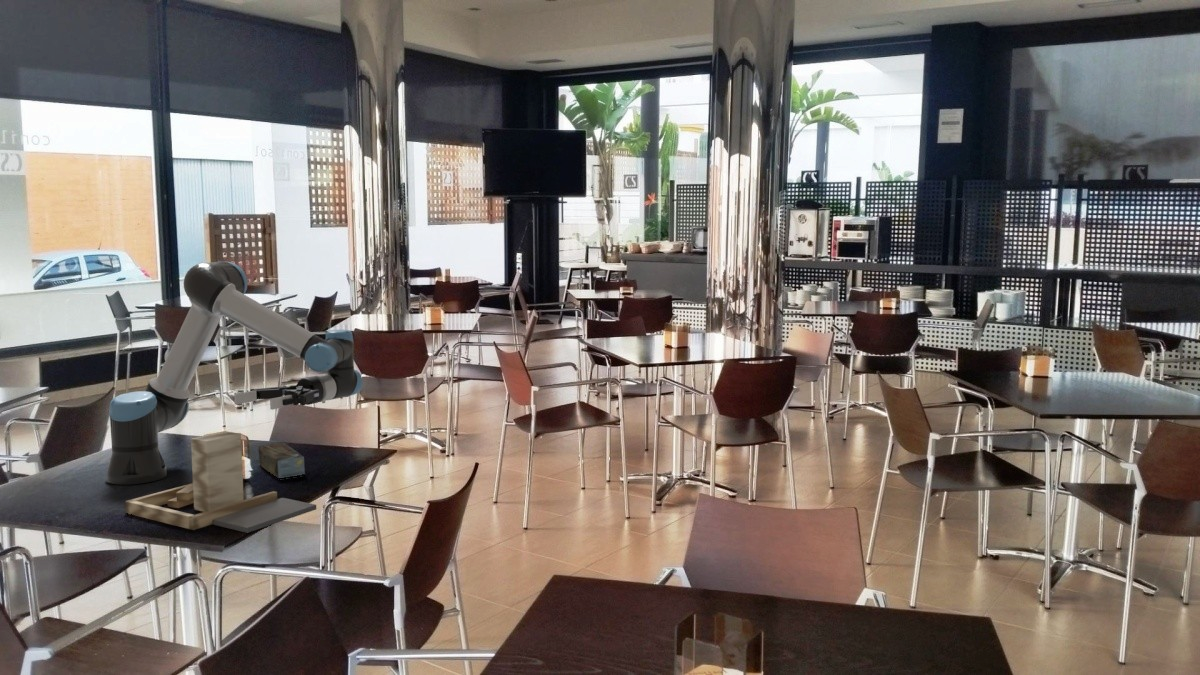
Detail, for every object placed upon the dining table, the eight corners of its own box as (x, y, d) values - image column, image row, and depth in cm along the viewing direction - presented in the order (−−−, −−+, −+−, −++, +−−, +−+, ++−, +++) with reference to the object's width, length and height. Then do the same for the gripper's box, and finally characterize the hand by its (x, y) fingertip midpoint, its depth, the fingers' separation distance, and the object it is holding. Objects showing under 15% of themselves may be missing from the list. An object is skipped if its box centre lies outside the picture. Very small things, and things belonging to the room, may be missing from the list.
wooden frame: (125, 513, 232) (125, 501, 231) (210, 489, 253) (210, 478, 252) (193, 530, 219) (193, 517, 219) (277, 503, 240) (276, 492, 240)
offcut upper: (176, 500, 237) (176, 492, 237) (192, 490, 246) (192, 482, 246) (188, 500, 237) (188, 492, 237) (204, 490, 246) (203, 482, 246)
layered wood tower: (194, 509, 235) (190, 438, 233) (227, 499, 244) (224, 431, 241) (210, 513, 232) (206, 441, 230) (243, 503, 241) (240, 433, 238)
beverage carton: (277, 480, 262) (276, 457, 262) (258, 466, 278) (257, 444, 277) (305, 476, 267) (305, 453, 266) (285, 462, 282) (284, 441, 282)
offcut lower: (167, 508, 237) (167, 500, 237) (200, 497, 248) (200, 489, 247) (178, 510, 236) (178, 501, 236) (211, 498, 246) (210, 490, 246)
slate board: (212, 524, 223) (212, 519, 223) (282, 502, 241) (282, 497, 241) (247, 532, 217) (247, 527, 217) (316, 509, 235) (316, 504, 235)
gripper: (348, 407, 257) (287, 420, 239) (284, 398, 270) (221, 411, 251) (347, 379, 256) (286, 391, 238) (283, 372, 269) (220, 383, 251)
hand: (252, 401), depth 245 cm, fingers open, 13 cm apart
